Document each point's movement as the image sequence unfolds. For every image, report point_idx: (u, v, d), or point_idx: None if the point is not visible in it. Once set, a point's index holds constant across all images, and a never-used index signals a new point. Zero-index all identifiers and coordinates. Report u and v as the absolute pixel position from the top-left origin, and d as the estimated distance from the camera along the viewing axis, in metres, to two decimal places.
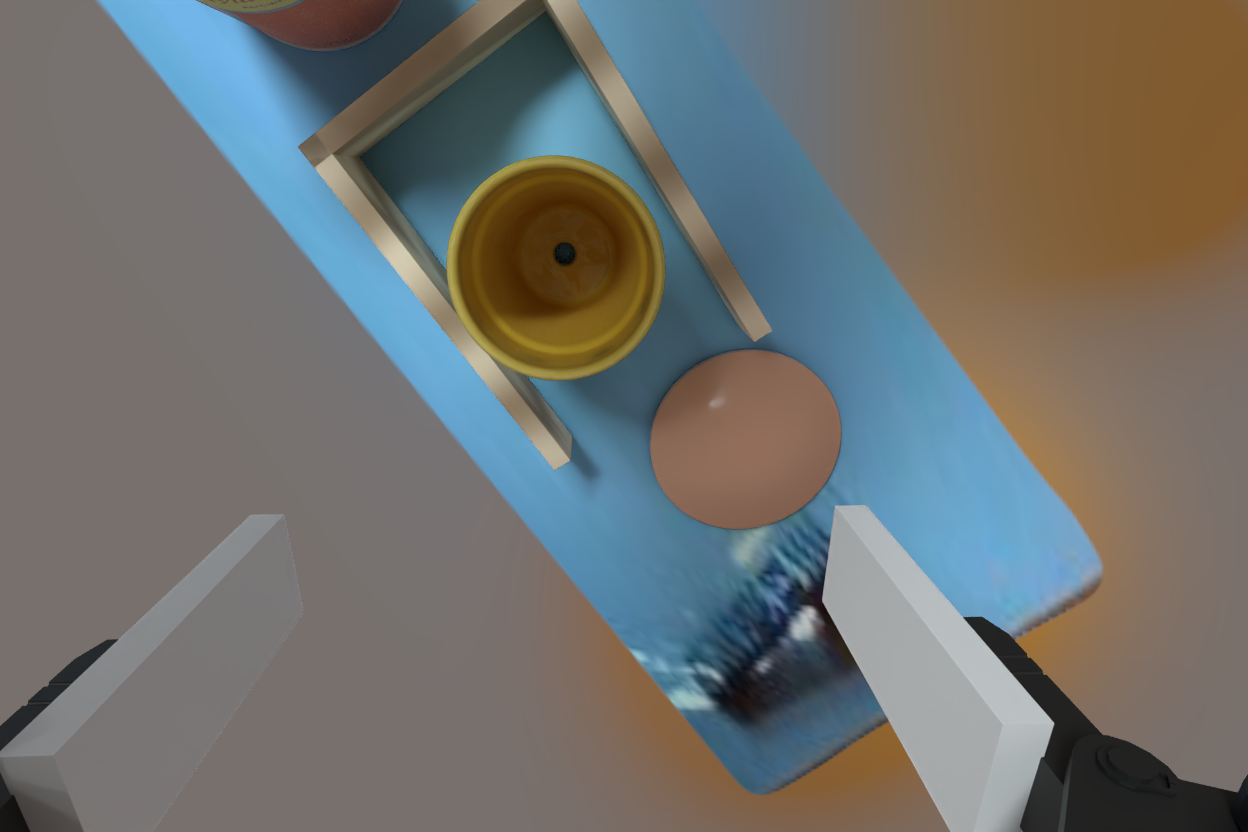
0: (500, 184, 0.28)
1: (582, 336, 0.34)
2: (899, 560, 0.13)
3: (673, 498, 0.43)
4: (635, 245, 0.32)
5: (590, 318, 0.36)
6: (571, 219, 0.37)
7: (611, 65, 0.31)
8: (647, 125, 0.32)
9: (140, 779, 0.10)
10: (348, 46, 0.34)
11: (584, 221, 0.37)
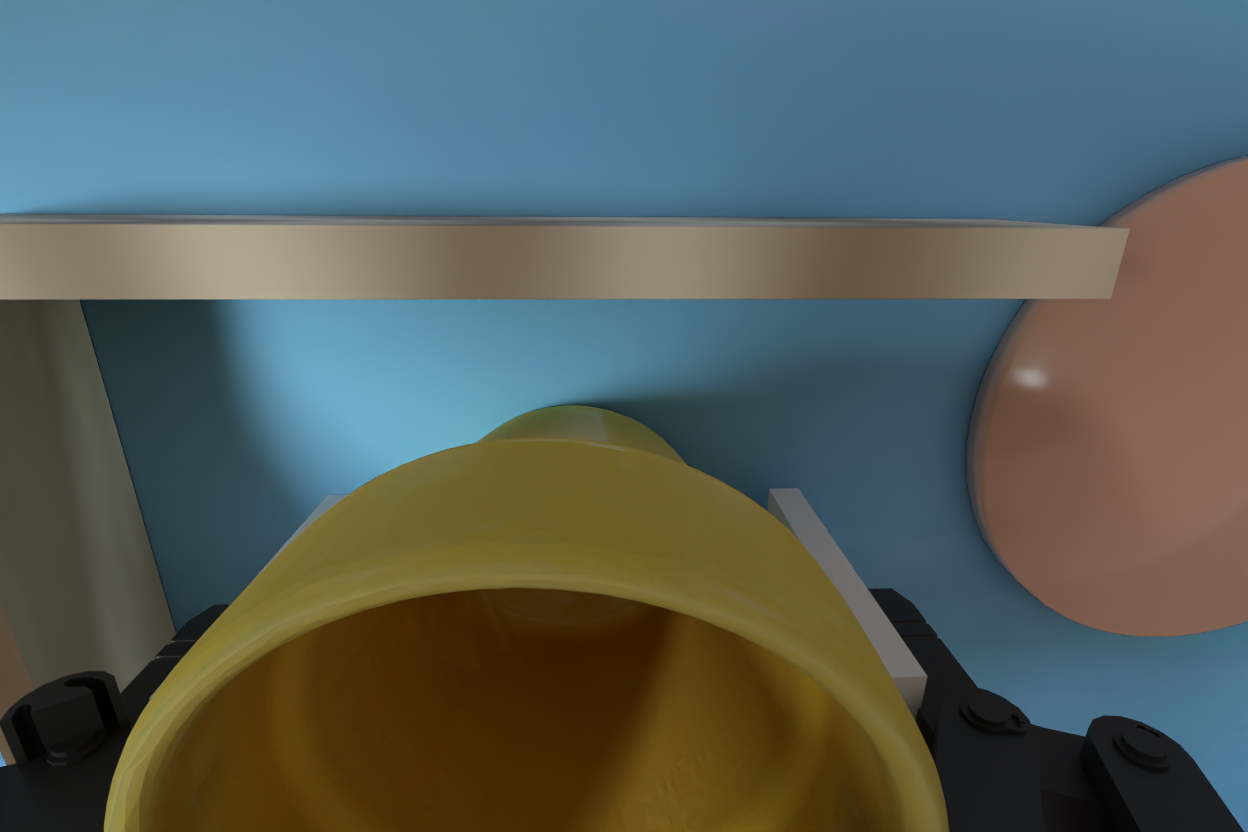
0: None
1: (757, 730, 0.12)
2: (818, 537, 0.14)
3: (1184, 628, 0.18)
4: None
5: None
6: None
7: (151, 235, 0.10)
8: (357, 235, 0.10)
9: None
10: None
11: None
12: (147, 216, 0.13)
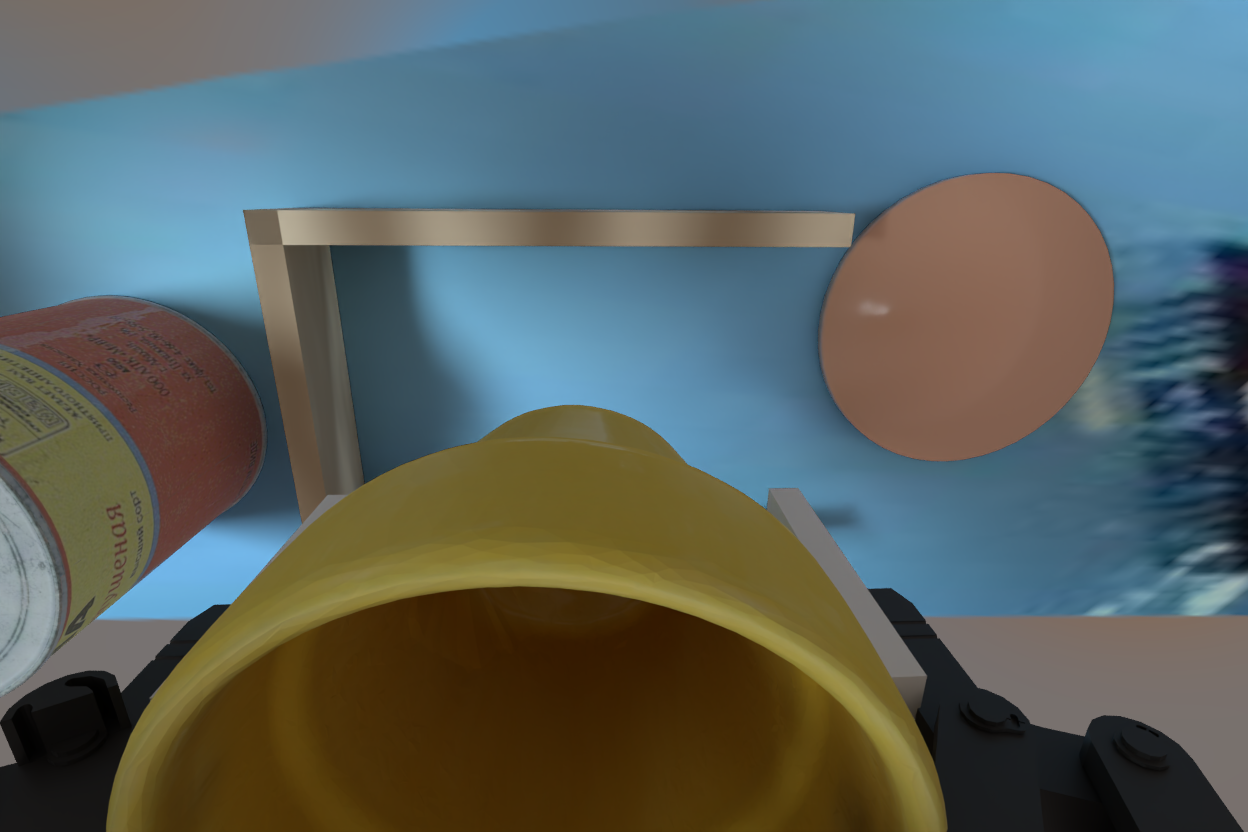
0: None
1: (757, 729, 0.12)
2: (818, 537, 0.14)
3: (954, 455, 0.30)
4: None
5: None
6: None
7: (406, 215, 0.23)
8: (498, 215, 0.23)
9: None
10: (263, 454, 0.30)
11: None
12: None
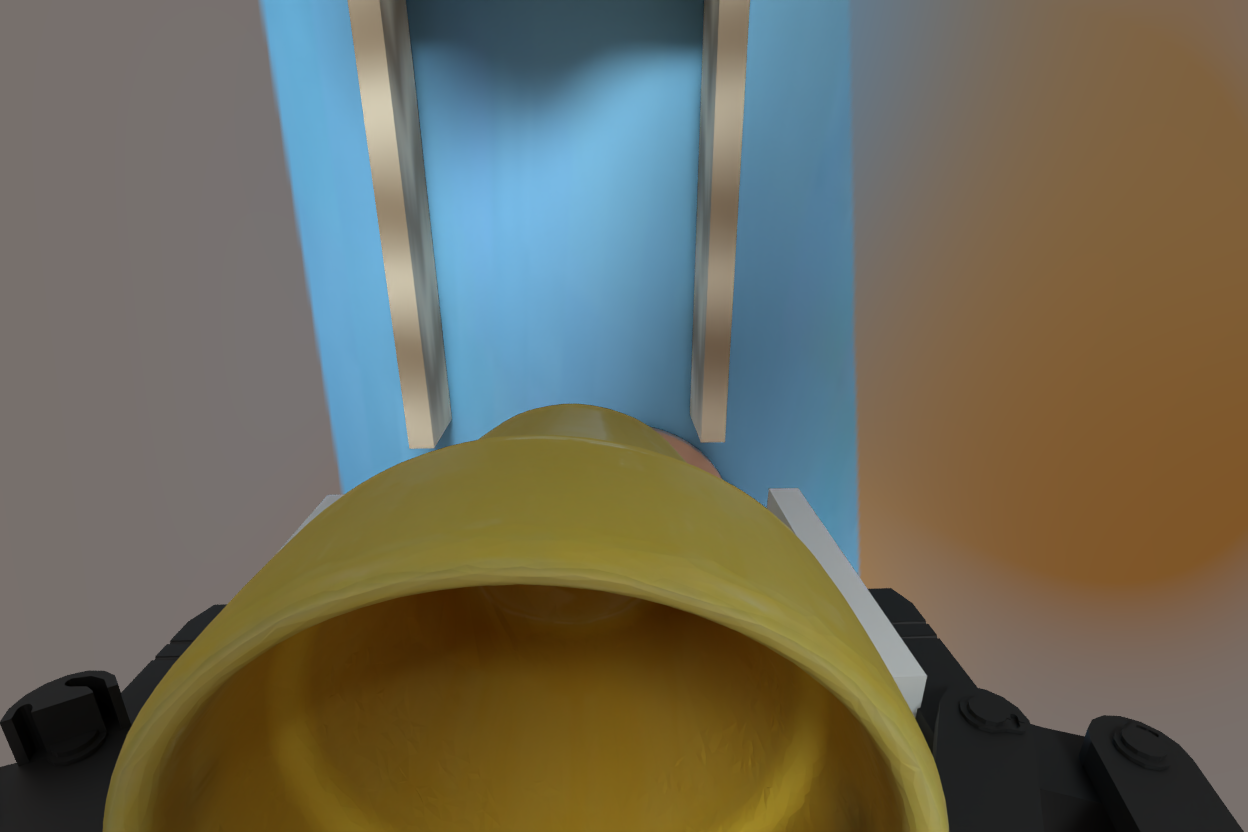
0: None
1: (757, 729, 0.12)
2: (818, 537, 0.14)
3: None
4: None
5: None
6: None
7: (741, 70, 0.25)
8: (737, 158, 0.27)
9: None
10: None
11: None
12: None
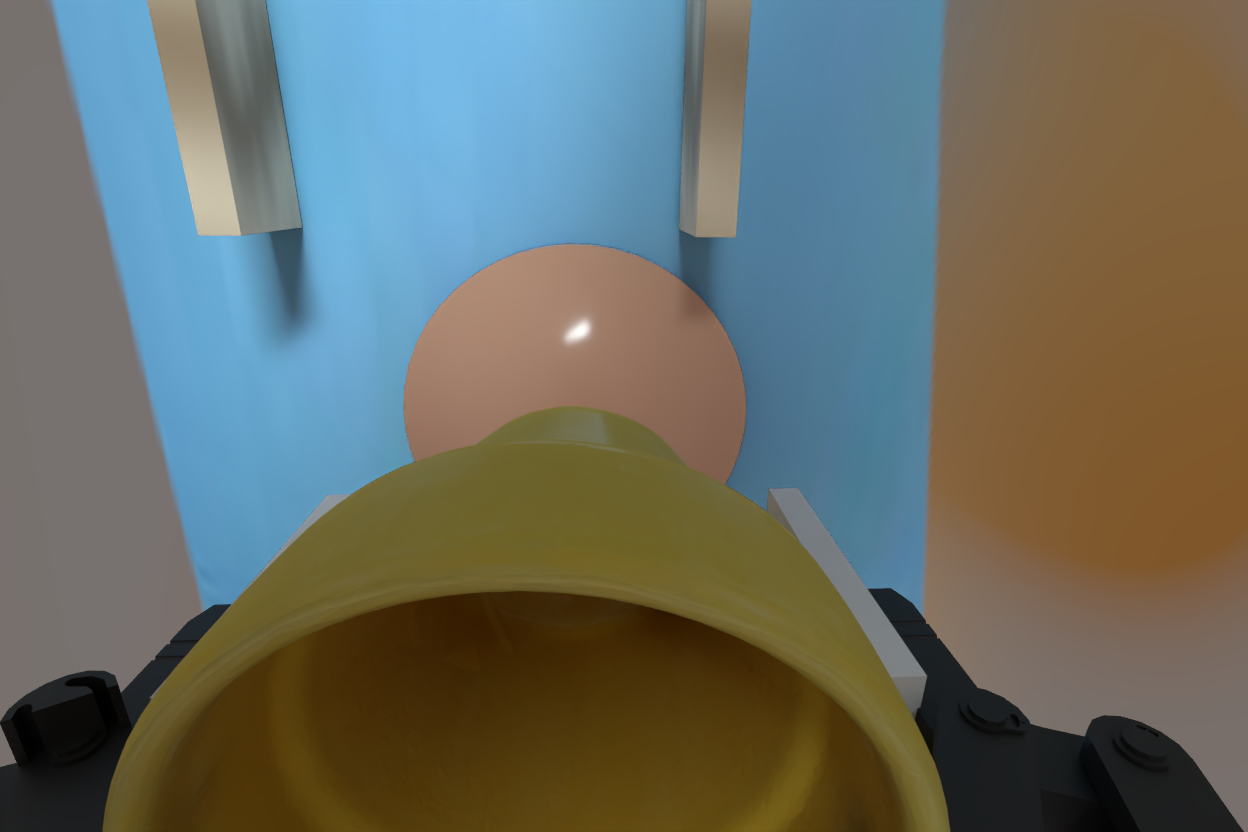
0: None
1: (757, 732, 0.12)
2: (818, 537, 0.14)
3: (413, 436, 0.24)
4: None
5: None
6: None
7: None
8: None
9: None
10: None
11: None
12: None
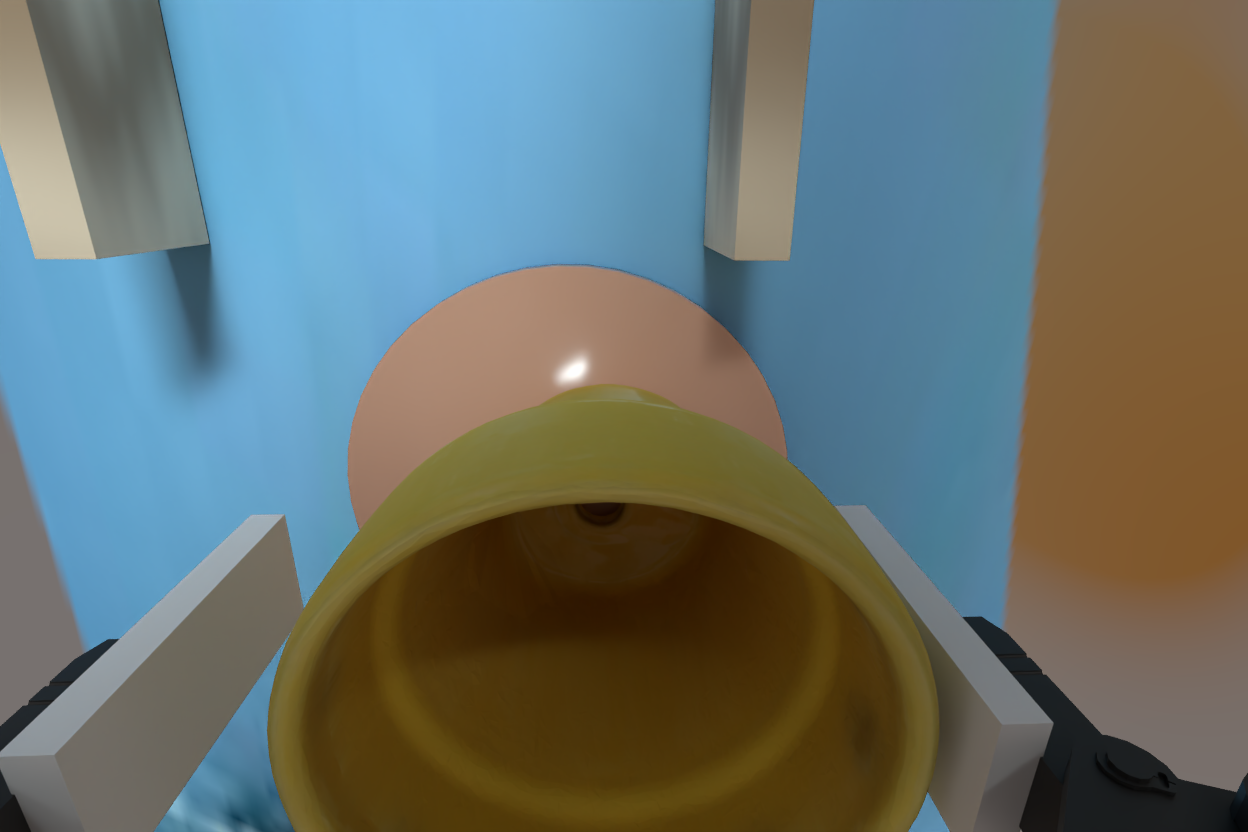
0: (310, 753, 0.10)
1: (776, 660, 0.14)
2: (899, 560, 0.13)
3: (362, 510, 0.18)
4: None
5: (746, 576, 0.16)
6: None
7: None
8: None
9: (141, 779, 0.10)
10: None
11: None
12: None
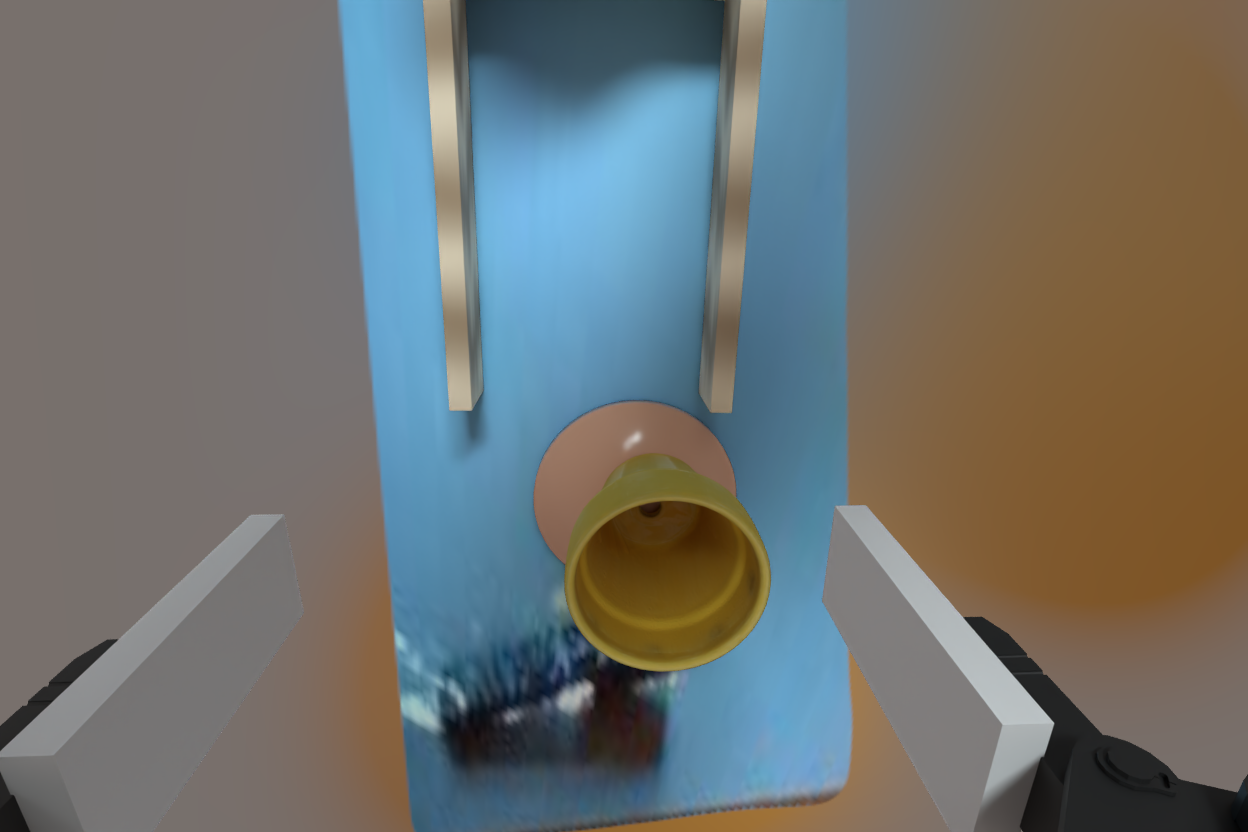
0: (574, 580, 0.31)
1: (725, 567, 0.35)
2: (899, 560, 0.13)
3: (538, 508, 0.40)
4: None
5: (714, 537, 0.37)
6: None
7: (755, 86, 0.30)
8: (750, 160, 0.31)
9: (140, 779, 0.10)
10: None
11: None
12: None
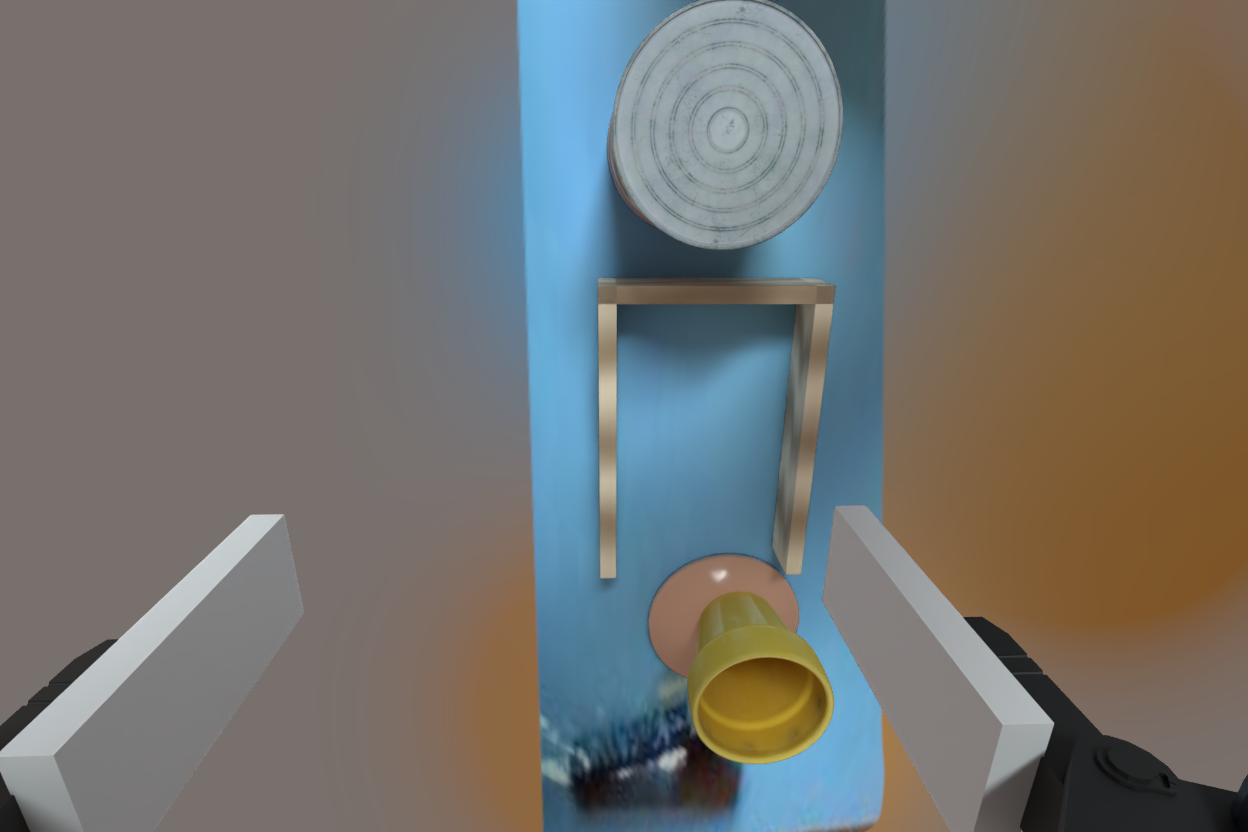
0: (698, 706, 0.45)
1: (797, 684, 0.49)
2: (899, 560, 0.13)
3: (652, 630, 0.54)
4: None
5: None
6: None
7: (822, 370, 0.43)
8: (817, 415, 0.44)
9: (140, 779, 0.10)
10: None
11: None
12: None
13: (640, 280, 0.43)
